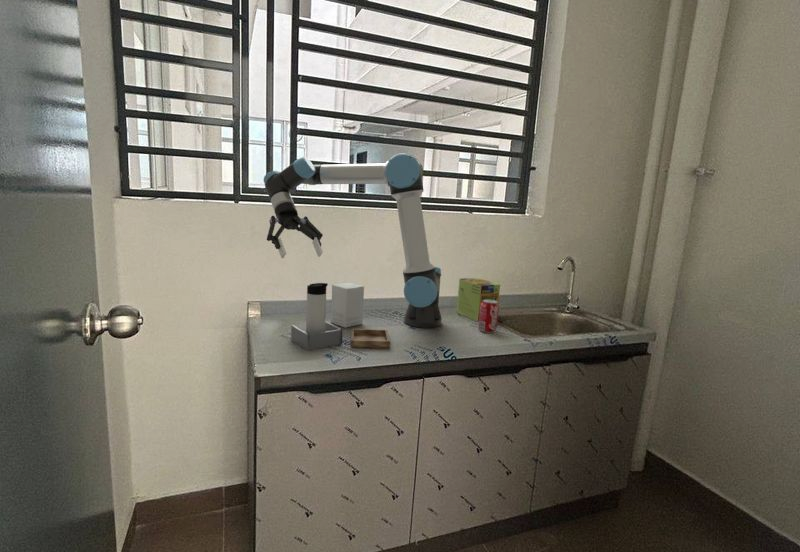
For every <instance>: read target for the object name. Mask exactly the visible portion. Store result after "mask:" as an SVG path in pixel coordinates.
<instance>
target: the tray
mask: <svg viewBox="0 0 800 552" xmlns="http://www.w3.org/2000/svg"><path fill="white" fill-rule="evenodd" d="M350 333H351V334H350V348H351V349H354V348H355V349H385V350H386V349H387V350H388V349H390V348H391V339H390V336H389V335H390V334H389V332H388V329H382V328H381V329H380V328H377V329H376V328H375V329H371V328H351V331H350Z"/></svg>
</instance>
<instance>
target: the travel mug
mask: <svg viewBox="0 0 800 552" xmlns="http://www.w3.org/2000/svg"><path fill="white" fill-rule="evenodd" d="M327 286H328V283H325V282H318V283H317V282H316V283H309V285H306V287H307V289H306V312H305V313H306V315H305V316H306V319H305V320H306V323H305V332H306V333H308V334H314V333H320V332H325V323H326V320H327V319H326V318H327V317H326V315H327V313H326V312H327Z"/></svg>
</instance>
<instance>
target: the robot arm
mask: <svg viewBox="0 0 800 552" xmlns="http://www.w3.org/2000/svg"><path fill="white" fill-rule="evenodd" d="M423 176H424V168H423V165H422V163H421V162H420V160H418V159H417V158H416V156H414V155H412V154H410V153H404V152H403V153H401V152H400V153H397V154H395V155H393V156H392V157H391V158H390V159H389V160H387V161H386V162H384V163H352V164H351V163H348V164H347V163H346V164H345V163H344V164H343V163H341V164H313V163H312V161H311V160H310V159H308V158H307V157H306V156H300V157H299V158H298V159H295V160H294V162H292V163H290V165H288V166H287V167H285V168H284V169H283V170H282V171H279V170H272V171H268V172H267V173H266V174H265V175H264V176H263V184H264V188H265V190H266V192H267V195H268V198H269V200H270V204H271V205H272V208H273V211H274V214H275V215H271V217H270V219H269V229H268V233H267V235H266V236H267V237H266V241H268V242H270V241H271V244H273V245H274V248H275V249H276V250H278V252H279V255H280V258H281V259H285V257H286V255H287V252H286V249H285V246H284V244H283V240H282V239H281V237H280V236H281V234H282V233H283V232H284V230H285V229H286V230H289V231H291V230H292V231H293V230H294V231H297V232H300V233H302V234H303V235H305V236H306V237H307V238H308V239H310V240H311V241H312V242H311V243H312V245H313V248H314V250H315V253H316V255H317V257H318V258H319V257H321V256H322V254H323V249H322V242H321V241H320V240H322V238H323V237H324V236H323V235H324V234H323V233H322V232H321V230H319V229H318V228H317V227H316V226H315V225H314V224H313V223H312V222H311V221H310V219H309V217H308V216H304V217H300V216H299V214H298V210H297V208H296V206H295V202H294V200H293V197H292V195H291V191H293V190H295V189H296V188H297V187H299V186H300V185H302V184H303V185H309V186H315V185H369V184H370V185H374V184H375V185H384V184H385V185H387V186H388V187H389V190H390V196H391V197H392V198H393V199H395V202H396V208H397V215H398V221H399V227H400V234H401V235H400V236H401V241H402V247H403V253H404V255H403V256H404V260H405V267H404V269H403V271H402V275H403V282H404V287H403V295H404V298H405V300H406V301H407V302H408V305H407V308H406V310H405V313H404V314H403V323H405V324H406V325H408V326H412V327H417V328H427V329H428V328H429V329H430V328H437V327H440V326H441V325H442V314H441V311H440V306H439V303H440V302H439V300H440V299H439V298H440V289H441V288H440V287H441V278H442V277H441V276H442V270H441V268H440V267H438V266H435V265H433V264H432V263H431V261H430V256H429V255H430V254H429V251H428V250H429V248H428V241H427V236H426V235H427V234H426V228H425V227H426V226H425V223H424V222H425V221H424V215H423V214H424V213H423V207H422V202H421V201H422V200H421V199H422V198H421V195H422V194H423V193H424V183H423ZM277 223H278V224H279V225H280V227H279V228H278V230H277V231H276V232H275V234H274V235H273V233H274V230H275V226H276V224H277Z"/></svg>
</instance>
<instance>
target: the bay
mask: <svg viewBox="0 0 800 552" xmlns="http://www.w3.org/2000/svg"><path fill="white" fill-rule="evenodd" d="M290 331H291V332H290V333H291V334H290V340H291V341H292V342H294V343H296V344H297V345H298V346H300V347H302V348H303V349H305V350H306V351H307V350H308V351H313V350H317V349H318V348H319V349H322V348H323V347H324V348H329V347H334V346H339V345H342V344H343V329H342V328H340V327H338V325H336V324H334V323H331V322H329V321H326V323H325V332H320V333H314V334H308V333H306V331H304V330H302V329H301V328H299V327H297V326H296V325H293V324H291V326H290ZM328 346H329V347H328ZM312 349H313V350H312Z"/></svg>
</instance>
